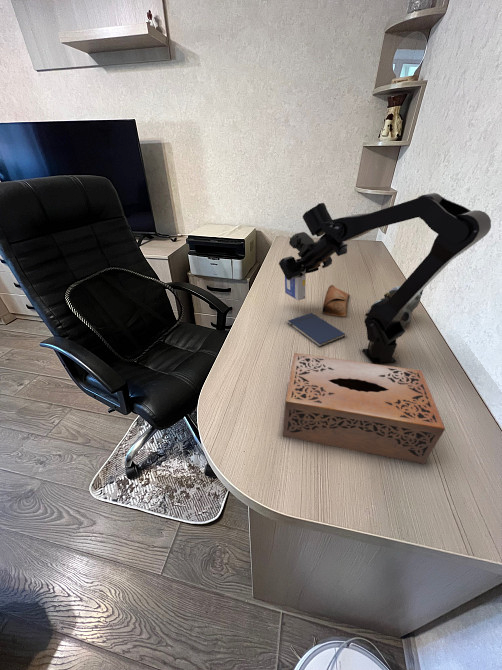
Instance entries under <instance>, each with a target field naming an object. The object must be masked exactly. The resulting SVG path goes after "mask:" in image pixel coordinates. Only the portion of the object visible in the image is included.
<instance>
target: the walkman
mask: <svg viewBox="0 0 502 670" xmlns="http://www.w3.org/2000/svg"><path fill="white" fill-rule="evenodd" d="M302 273H303V276H300V277H297V278H294V279H291V280H287V279H286V277H285V276H284V293H285V294H287V295H288V296H290V297H291V298H293V299H295V300H296V301H302V300H305V299H306V282H307V281H306V280H307V279H306V276H307V275H306V274H305V271H304V272H302Z"/></svg>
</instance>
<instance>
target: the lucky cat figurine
mask: <svg viewBox="0 0 502 670" xmlns="http://www.w3.org/2000/svg"><path fill="white" fill-rule="evenodd" d="M400 286H401V285H399V286H395V287H393V288H392V289H389V292H385V293H384V295H383V296H384V297H383V298H381V299H380V300H379V299H378V300H376V301H375V302H373V303H372V304H371V305H370V309H366V312H367V313H368V312H370V310H371V308H372V307H373V305H374V304H375V303H377V302H379V301H381V300H383V299H385V298H388V299H390V298H391V297H392V296H393V295H394V293H395V292H396V291H397V290H398V289H399V288H400ZM424 290H425V288H424V289H423V290H422V291H421V292H420V293H419V294H418V295H417V297H416V298H415V299H414V300H413V301H412V302H411V303H410V304H409V305H408V306H407V307H406V309H405V312H404V314H403V316H402V318H401V319H400V322H401V324H402V326H403V327H404V328H405V327H408V325H409V324H410V323H411V321H412V315H413V312H414V310H415V309H416V308H417V307H418V306H419V305H420V301H421V299H422V295H423V292H424Z"/></svg>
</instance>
